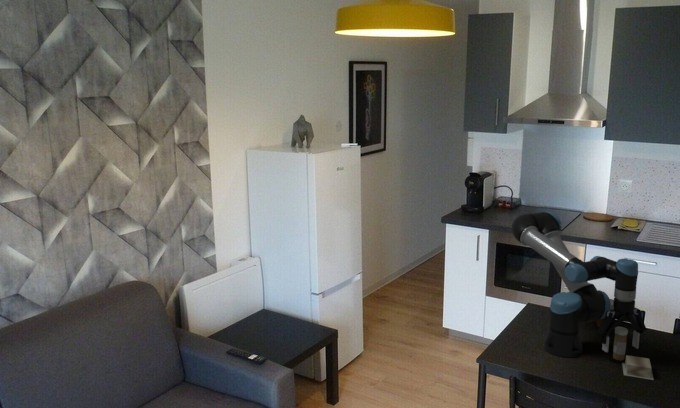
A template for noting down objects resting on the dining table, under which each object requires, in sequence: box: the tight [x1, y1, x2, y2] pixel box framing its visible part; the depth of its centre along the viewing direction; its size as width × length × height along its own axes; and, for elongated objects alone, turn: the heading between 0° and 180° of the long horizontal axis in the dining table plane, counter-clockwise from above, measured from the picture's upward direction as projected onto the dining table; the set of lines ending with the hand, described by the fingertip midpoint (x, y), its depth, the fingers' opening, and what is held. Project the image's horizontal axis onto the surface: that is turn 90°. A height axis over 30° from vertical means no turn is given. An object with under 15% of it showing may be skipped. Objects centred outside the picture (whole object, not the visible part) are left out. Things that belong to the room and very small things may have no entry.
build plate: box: [621, 362, 655, 381], centre depth 218 cm, size 10×10×1 cm
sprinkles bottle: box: [612, 326, 629, 361], centre depth 227 cm, size 5×5×13 cm
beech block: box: [624, 354, 652, 378], centre depth 217 cm, size 8×8×4 cm
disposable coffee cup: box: [596, 298, 614, 328], centre depth 257 cm, size 10×10×12 cm
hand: (620, 349), depth 227 cm, fingers open, 13 cm apart
